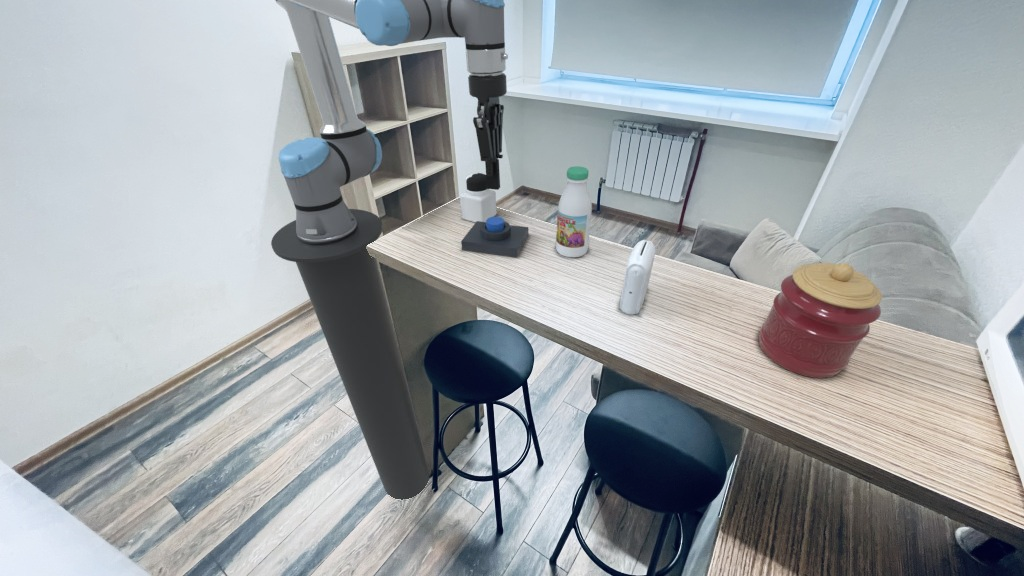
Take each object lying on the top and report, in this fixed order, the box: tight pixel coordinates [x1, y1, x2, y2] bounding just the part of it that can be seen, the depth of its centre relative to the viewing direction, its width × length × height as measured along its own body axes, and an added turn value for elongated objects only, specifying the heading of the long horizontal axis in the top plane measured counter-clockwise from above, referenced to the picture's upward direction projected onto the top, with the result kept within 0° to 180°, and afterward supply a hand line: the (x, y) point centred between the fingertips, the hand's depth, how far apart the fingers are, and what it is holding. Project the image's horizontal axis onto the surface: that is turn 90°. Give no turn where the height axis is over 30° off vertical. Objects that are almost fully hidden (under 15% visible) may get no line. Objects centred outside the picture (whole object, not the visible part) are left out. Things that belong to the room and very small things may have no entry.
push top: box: [486, 216, 505, 232], centre depth 99 cm, size 4×4×2 cm
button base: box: [461, 220, 529, 258], centre depth 101 cm, size 14×11×4 cm
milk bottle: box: [555, 166, 593, 258], centre depth 93 cm, size 8×8×20 cm
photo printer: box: [619, 239, 656, 315], centre depth 79 cm, size 10×4×12 cm, turn 155°
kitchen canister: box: [758, 262, 883, 379], centre depth 65 cm, size 13×13×18 cm
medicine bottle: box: [459, 172, 498, 223], centre depth 111 cm, size 7×7×12 cm
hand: (493, 188), depth 93 cm, fingers closed
